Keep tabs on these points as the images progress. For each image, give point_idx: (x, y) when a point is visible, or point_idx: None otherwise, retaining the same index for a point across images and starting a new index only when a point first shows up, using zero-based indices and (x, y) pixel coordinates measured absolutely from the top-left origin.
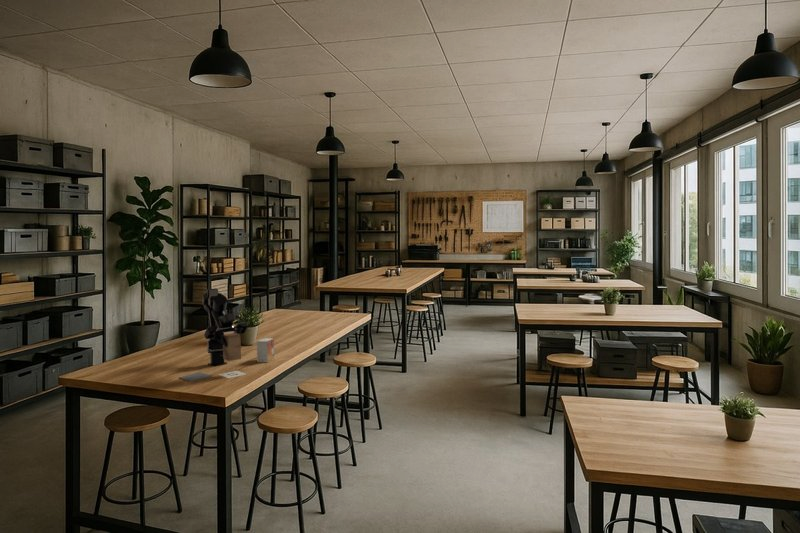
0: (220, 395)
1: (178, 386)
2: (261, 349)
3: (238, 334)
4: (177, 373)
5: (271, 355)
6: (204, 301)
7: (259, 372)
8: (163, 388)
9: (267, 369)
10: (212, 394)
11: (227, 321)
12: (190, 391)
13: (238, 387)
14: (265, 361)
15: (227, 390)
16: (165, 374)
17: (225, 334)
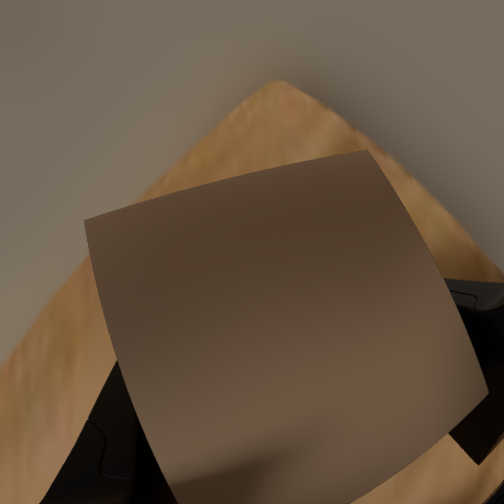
0: (292, 90)
1: (451, 260)
2: None
3: (124, 240)
4: (471, 480)
5: None
6: None
7: (65, 348)
8: (483, 258)
9: (17, 390)
10: (318, 108)
11: None
12: (397, 174)
13: (224, 132)
14: None
15: (269, 119)
16: (500, 468)
17: (447, 392)
